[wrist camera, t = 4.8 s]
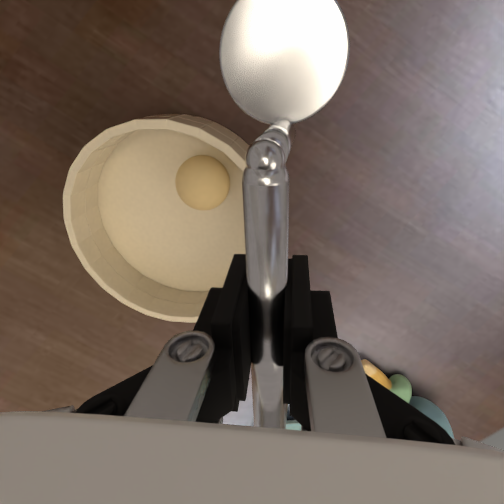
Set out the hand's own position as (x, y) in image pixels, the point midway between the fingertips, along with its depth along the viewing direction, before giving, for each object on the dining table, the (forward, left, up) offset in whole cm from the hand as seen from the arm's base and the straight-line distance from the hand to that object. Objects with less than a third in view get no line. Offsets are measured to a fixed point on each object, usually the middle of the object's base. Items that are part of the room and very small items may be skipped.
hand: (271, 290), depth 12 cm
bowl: (+3, -8, -16) cm, 18 cm away
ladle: (-1, 0, -5) cm, 5 cm away
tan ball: (0, -6, -15) cm, 16 cm away
